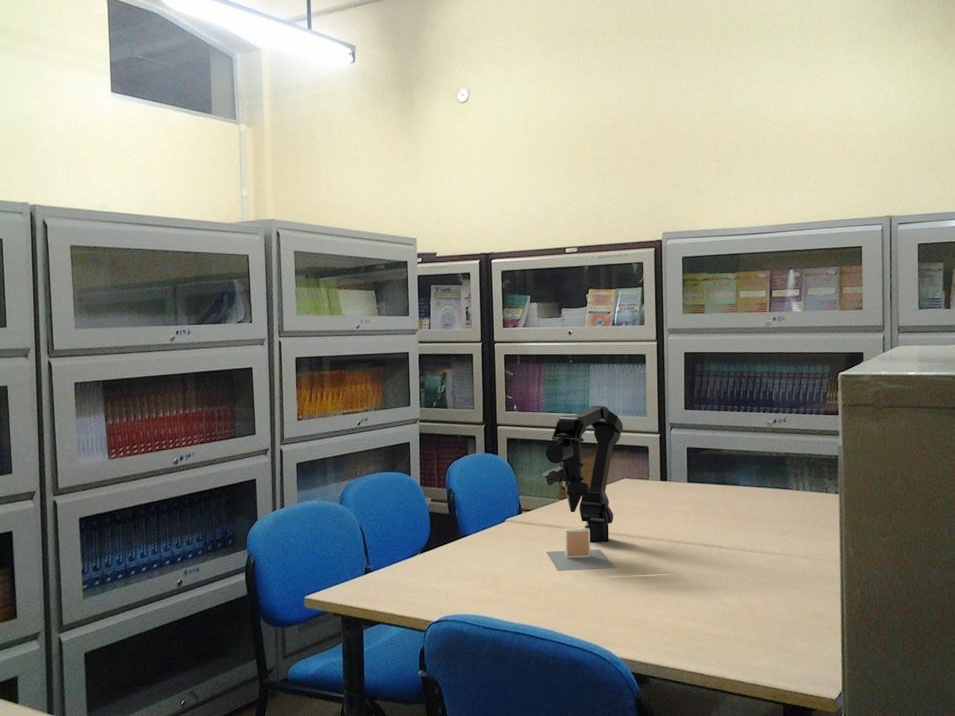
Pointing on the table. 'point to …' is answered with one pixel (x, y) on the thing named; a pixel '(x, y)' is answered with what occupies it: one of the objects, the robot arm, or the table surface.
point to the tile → (577, 542)
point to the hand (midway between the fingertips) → (572, 511)
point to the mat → (580, 561)
